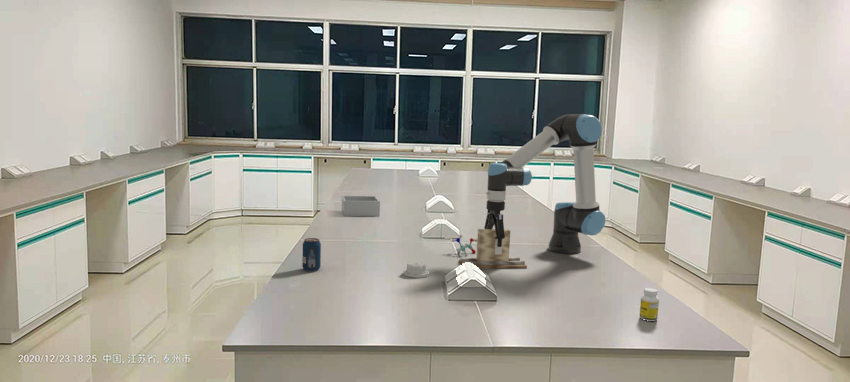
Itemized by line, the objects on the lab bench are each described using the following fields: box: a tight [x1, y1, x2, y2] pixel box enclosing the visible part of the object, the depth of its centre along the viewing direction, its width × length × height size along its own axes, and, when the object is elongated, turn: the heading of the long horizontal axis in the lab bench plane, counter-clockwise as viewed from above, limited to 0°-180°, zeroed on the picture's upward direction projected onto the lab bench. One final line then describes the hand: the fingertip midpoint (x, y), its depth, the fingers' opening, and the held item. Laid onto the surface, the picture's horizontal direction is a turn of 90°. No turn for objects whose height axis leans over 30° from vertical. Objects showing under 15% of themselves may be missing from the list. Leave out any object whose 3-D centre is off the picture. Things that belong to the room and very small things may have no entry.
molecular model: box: [451, 234, 478, 257], centre depth 277 cm, size 12×10×10 cm
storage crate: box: [341, 195, 381, 217], centre depth 371 cm, size 21×21×9 cm
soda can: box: [301, 237, 322, 273], centre depth 239 cm, size 7×7×12 cm
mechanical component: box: [402, 261, 430, 279], centre depth 239 cm, size 10×4×10 cm
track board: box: [458, 257, 528, 270], centre depth 258 cm, size 26×12×2 cm, turn 101°
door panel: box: [476, 228, 511, 262], centre depth 257 cm, size 13×4×14 cm, turn 101°
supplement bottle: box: [639, 287, 660, 322], centre depth 196 cm, size 5×5×10 cm
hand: (493, 250), depth 258 cm, fingers open, 13 cm apart
